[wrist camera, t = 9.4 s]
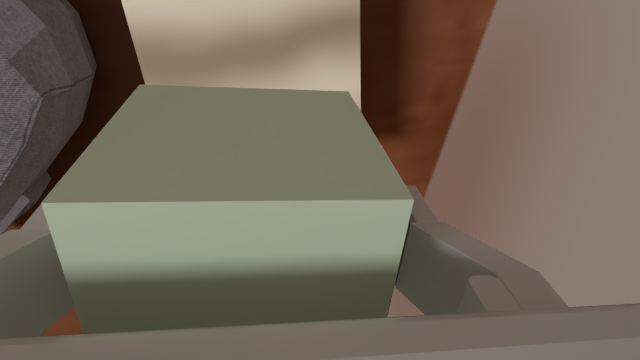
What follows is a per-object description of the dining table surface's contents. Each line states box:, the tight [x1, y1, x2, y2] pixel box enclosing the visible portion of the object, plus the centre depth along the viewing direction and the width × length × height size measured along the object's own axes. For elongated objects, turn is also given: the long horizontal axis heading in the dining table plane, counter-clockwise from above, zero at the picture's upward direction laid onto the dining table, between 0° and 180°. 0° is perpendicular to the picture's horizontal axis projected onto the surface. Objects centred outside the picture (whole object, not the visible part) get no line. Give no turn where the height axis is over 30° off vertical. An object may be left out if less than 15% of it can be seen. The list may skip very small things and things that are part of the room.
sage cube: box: [41, 85, 414, 334], centre depth 9 cm, size 5×5×5 cm
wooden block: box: [121, 0, 361, 111], centre depth 24 cm, size 12×12×5 cm
